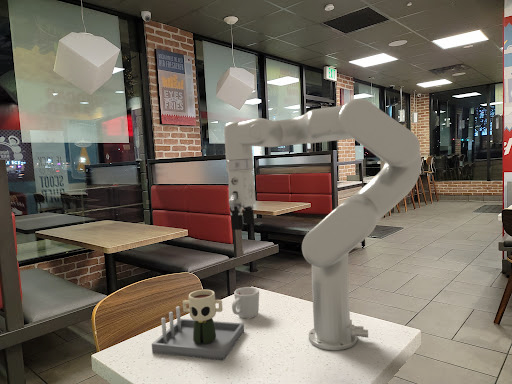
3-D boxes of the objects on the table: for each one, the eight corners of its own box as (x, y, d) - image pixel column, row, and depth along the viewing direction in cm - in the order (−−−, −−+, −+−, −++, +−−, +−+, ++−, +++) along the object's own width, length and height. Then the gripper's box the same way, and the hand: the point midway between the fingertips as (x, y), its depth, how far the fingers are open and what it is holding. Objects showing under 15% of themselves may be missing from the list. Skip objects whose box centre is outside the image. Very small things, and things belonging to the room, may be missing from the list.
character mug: (181, 346, 98) (177, 299, 97) (189, 334, 105) (185, 289, 104) (222, 346, 97) (218, 298, 96) (226, 334, 104) (223, 288, 103)
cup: (244, 326, 110) (242, 300, 110) (224, 320, 115) (222, 295, 114) (265, 313, 119) (264, 289, 118) (246, 308, 124) (244, 285, 123)
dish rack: (244, 331, 106) (242, 305, 106) (223, 361, 91) (221, 330, 91) (181, 326, 112) (179, 301, 112) (152, 353, 97) (150, 324, 97)
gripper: (242, 166, 95) (246, 232, 96) (261, 165, 112) (264, 221, 113) (215, 168, 97) (219, 232, 99) (237, 166, 114) (241, 221, 115)
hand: (243, 226), depth 106 cm, fingers open, 9 cm apart
